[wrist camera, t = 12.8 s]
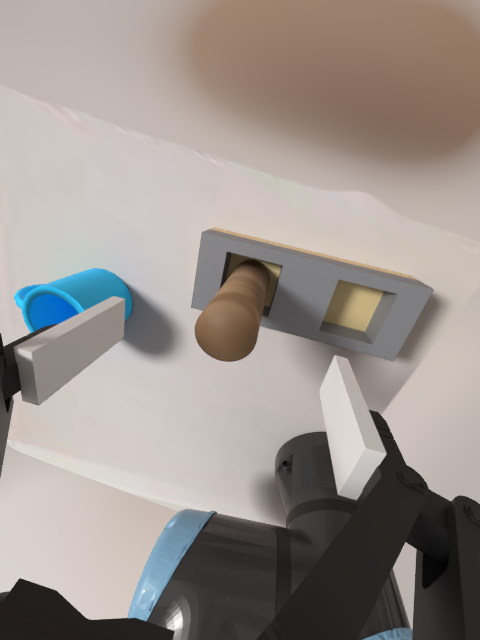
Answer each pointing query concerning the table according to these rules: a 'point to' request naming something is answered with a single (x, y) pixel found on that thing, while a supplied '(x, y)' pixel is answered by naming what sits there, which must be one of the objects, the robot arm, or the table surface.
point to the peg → (234, 314)
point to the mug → (69, 297)
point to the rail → (317, 293)
